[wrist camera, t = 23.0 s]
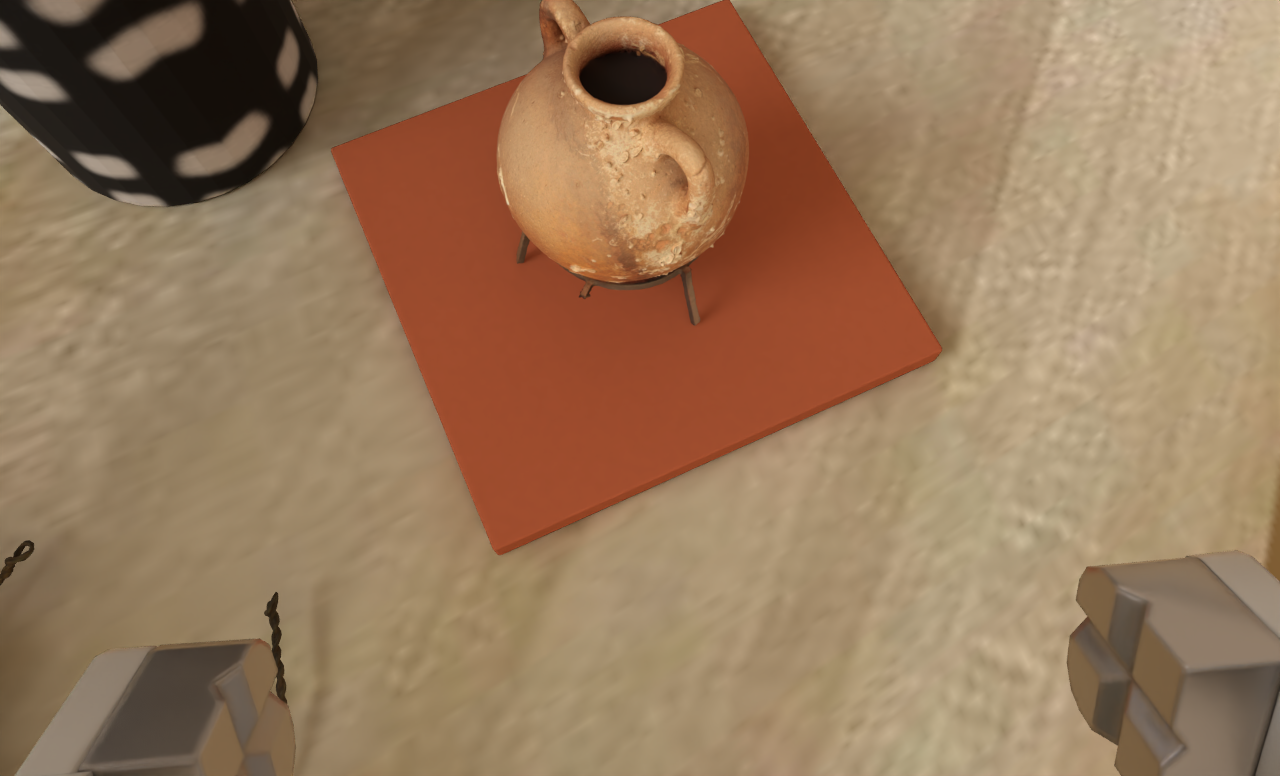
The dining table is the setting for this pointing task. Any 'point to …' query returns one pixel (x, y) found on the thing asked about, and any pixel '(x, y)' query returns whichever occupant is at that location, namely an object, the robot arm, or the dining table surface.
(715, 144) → the pot
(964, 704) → the dining table surface
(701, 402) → the terracotta mat
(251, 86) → the spotted tube
